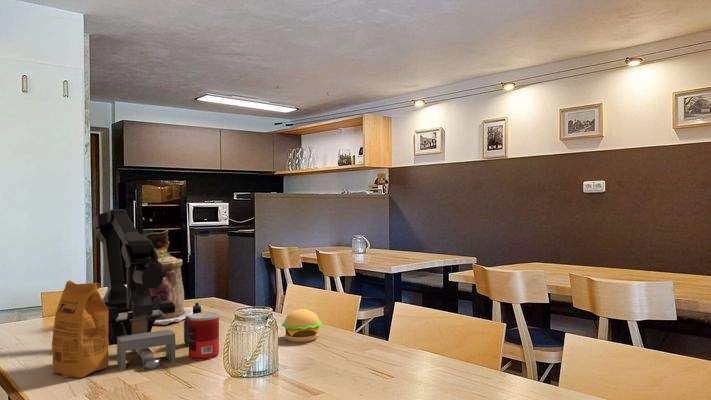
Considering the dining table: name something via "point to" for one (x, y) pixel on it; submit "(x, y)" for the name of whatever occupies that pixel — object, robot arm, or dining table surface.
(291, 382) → the dining table surface
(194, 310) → the vaping device
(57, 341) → the coffee package
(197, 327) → the canned food
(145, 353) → the blade tool
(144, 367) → the steel token
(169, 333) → the low shelf
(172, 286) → the cookie jar
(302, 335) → the hamburger
